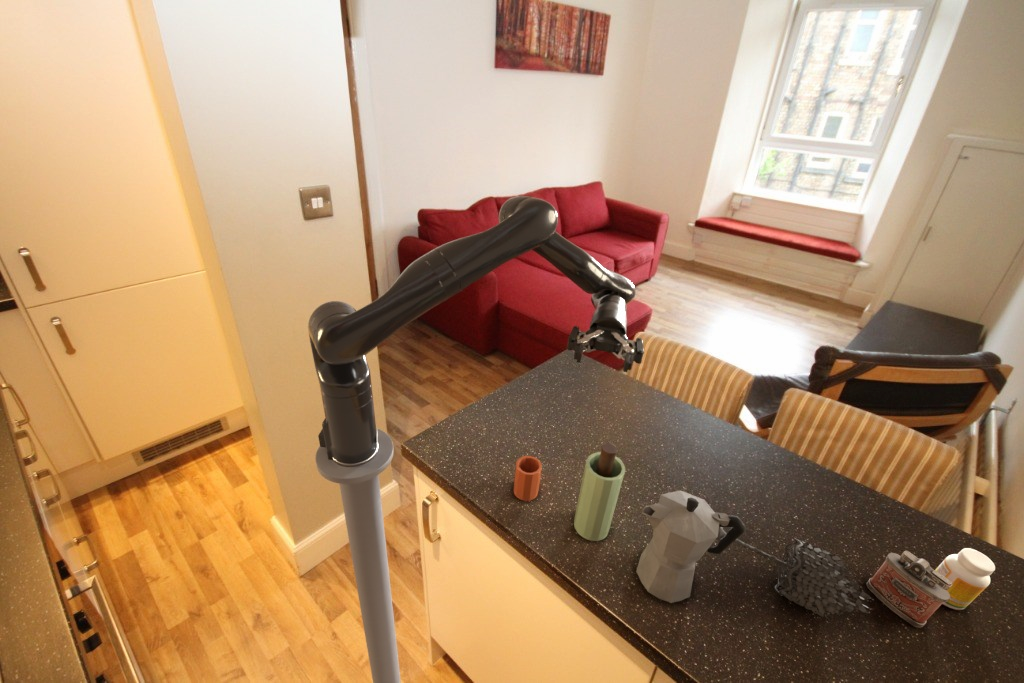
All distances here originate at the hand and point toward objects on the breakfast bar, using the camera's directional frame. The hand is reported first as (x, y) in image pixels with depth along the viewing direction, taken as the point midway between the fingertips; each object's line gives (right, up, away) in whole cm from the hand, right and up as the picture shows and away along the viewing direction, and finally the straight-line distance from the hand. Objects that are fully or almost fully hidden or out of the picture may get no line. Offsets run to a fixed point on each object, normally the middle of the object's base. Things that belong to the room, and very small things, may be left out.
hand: (602, 363), depth 80 cm
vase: (-2, -30, +1) cm, 30 cm away
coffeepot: (+10, -35, -7) cm, 37 cm away
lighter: (+46, -39, -8) cm, 60 cm away
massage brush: (+28, -37, -7) cm, 46 cm away
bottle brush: (-2, -29, 0) cm, 29 cm away
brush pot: (-14, -25, +7) cm, 30 cm away
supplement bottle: (+56, -39, -6) cm, 68 cm away
